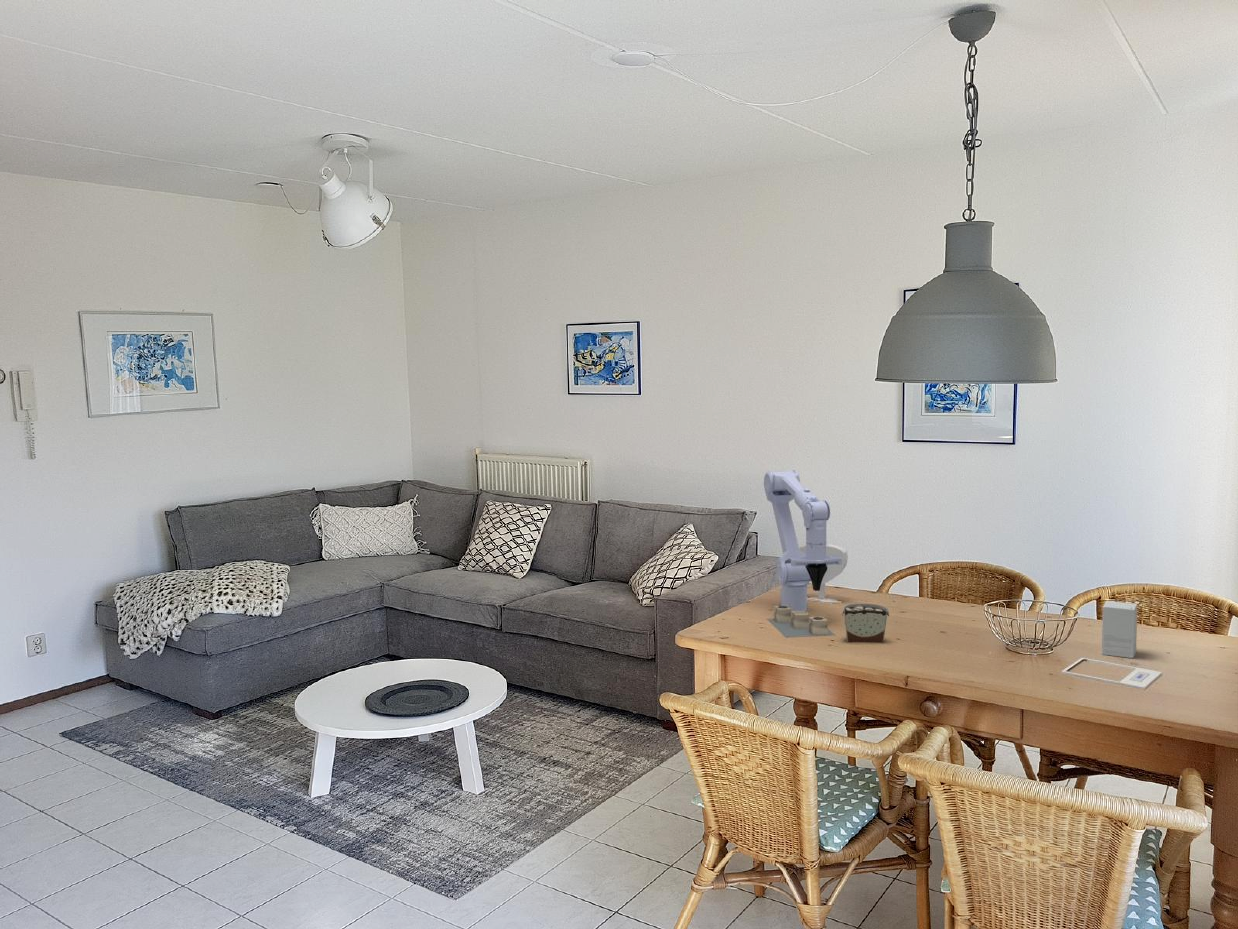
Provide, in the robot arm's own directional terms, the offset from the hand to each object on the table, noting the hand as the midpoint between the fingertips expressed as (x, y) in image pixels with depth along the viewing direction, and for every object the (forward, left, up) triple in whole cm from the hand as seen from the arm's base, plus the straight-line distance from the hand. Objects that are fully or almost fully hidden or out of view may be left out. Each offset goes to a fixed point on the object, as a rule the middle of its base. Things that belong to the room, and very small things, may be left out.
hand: (816, 590), depth 273 cm
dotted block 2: (+10, -3, -10) cm, 14 cm away
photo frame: (+53, +55, -11) cm, 78 cm away
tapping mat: (+3, -6, -10) cm, 12 cm away
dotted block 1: (-4, -9, -10) cm, 13 cm away
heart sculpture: (-29, +11, -11) cm, 32 cm away
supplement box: (+38, +67, -11) cm, 78 cm away
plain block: (+3, -6, -10) cm, 12 cm away
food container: (+18, +7, -11) cm, 22 cm away
